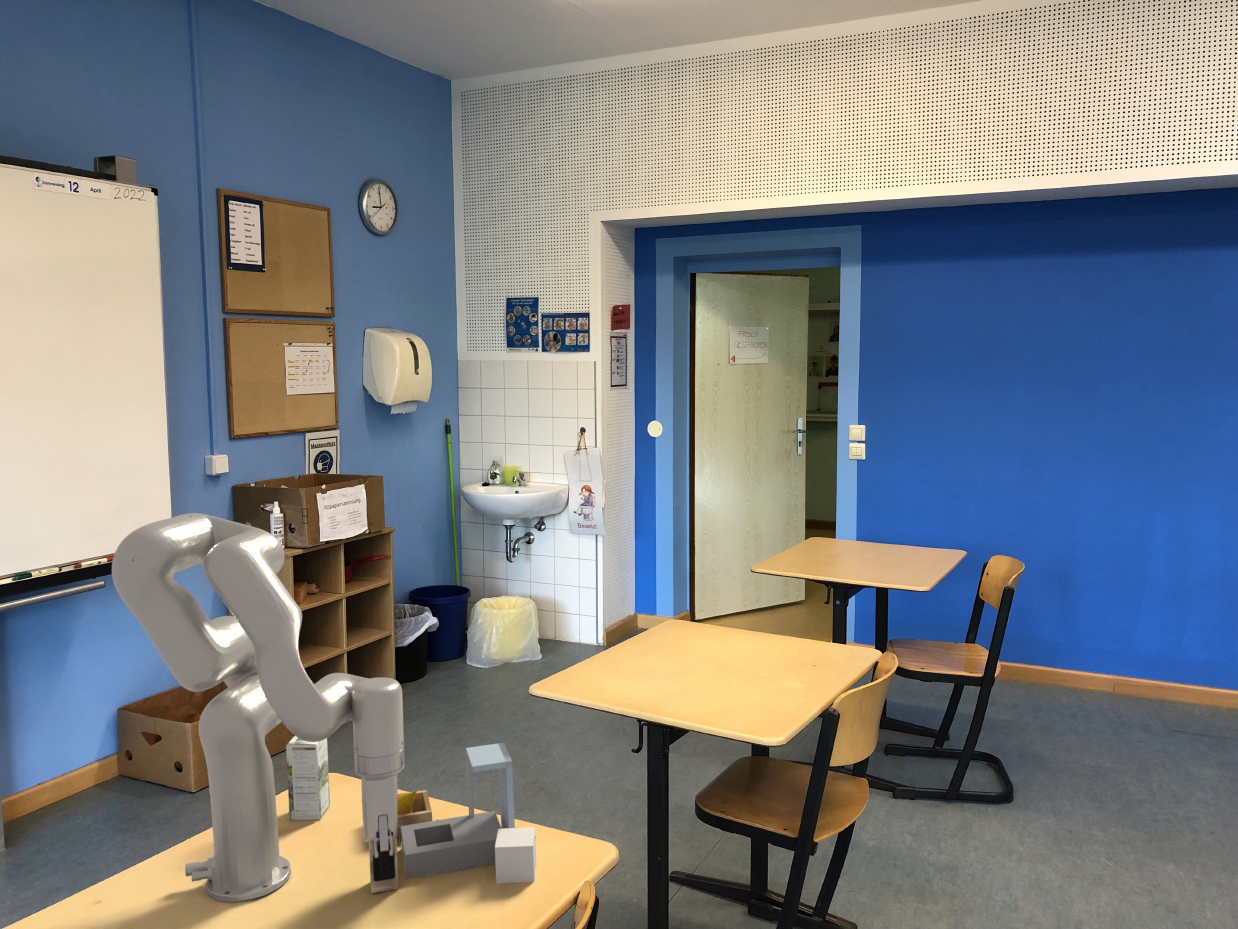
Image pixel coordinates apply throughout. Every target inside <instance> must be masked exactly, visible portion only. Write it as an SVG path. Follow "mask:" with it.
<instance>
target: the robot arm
mask: <svg viewBox="0 0 1238 929" xmlns="http://www.w3.org/2000/svg"><path fill="white" fill-rule="evenodd" d="M284 562H285V551H284V548H283V546H282V544H281V542H280V541H279V539H278V538H277V537H275V535H273V534H272V533H270V532H268V531H266V530H264V529H261V528H259V527H255V526H252V525H249V524H244V523H241V522H236V521H234V520H233V521H232V520H228V519H225V518H221V517H218V516H214V515H212V514H211V515H210V514H208V513H207V514H206V513H200V512H199V513H198V512H190V513H188V512H187V513H183V514H180V515H179V514H178V515H176V516H172V517H169V518H164V519H161V520H158V521H153V522H151V523H147V524H144V525H142V526H140V527H138V528H136V529H135V530H133V531H132V532H130V533H129V534H128V535H126V536H125V537H124V539H122V540H121V541H120V543H119V544H118V546H117V548H116V550H115V552H114V554H113V557H112V563H111V577H112V582H113V585H114V588H115V590H116V593H117V595H118V596H119V597H120V599H121V601H122V602H123V604H124V605H125V606H126V607H127V609H128V610H129V611H130V612H131V614H132V615H133V616H134V617H135V619H136V620H137V621H138V623H139V624H140V626H141V627H142V628H143V630H144V632H145V633H146V634H147V636H148V639H149V640H150V641H151V643H152V645H153V646H154V647H155V648H154V649H156V651H157V652H158V654H159V657H161V658H162V660H163V661H164V663H165V665H166V667H167V668H168V669H169V671H170V673H171V674H172V676H173V677H174V678H175V680H176V681H177V682H178V684H179V685H180V686H181V687H182V688H184V689H186V690H188V691H190V692H193V693H198V692H204V691H207V690H209V689H212V688H214V687H216V686H217V685H220V684H221V683H222V682H224V683H225V685H226V686H227V688H225V689H224V690H223V691H221V692H220V693H218V694H217V695H216V696H214V698H212V699H211V700H210V701H209V702H208V703H207V704H206V706H205V707H204V709H203V711H202V713H201V714H200V717H199V722H198V736H199V740H200V744H201V747H202V749H203V750H202V751H203V754H204V758H205V761H206V762H205V763H206V767H207V768H206V769H207V777H208V789H209V790H208V791H209V795H210V797H209V798H210V809H211V810H210V811H211V825H212V837H213V838H212V839H213V849H214V850H213V852H214V853H213V857H208V858H207V859H206V860H205V861H204V860H203V861H195V862H194V861H193V862H189V863H185V866H184V875H185V878H186V877H191V882H192V883H193V882H199V881H201V880H205V891H206V893H207V894H208V895H209V897H211V898H212V899H214V900H217V901H219V902H220V901H221V902H226V903H227V902H228V903H229V902H230V903H231V902H233V903H235V902H245V901H249V900H254V899H257V898H261V897H263V896H266V895H269V894H271V893H273V892H274V891H276V890H278V889H279V888H280V887H282V886H283V885H284V884H285V883H286V882H288V880H289V878H290V876H291V872H292V870H291V868H292V867H291V864H290V860H288V859H287V858H285V857H283V856H281V855H280V845H279V829H278V814H277V800H276V786H275V785H276V784H275V775H274V774H275V773H274V771H275V770H274V765H273V761H272V757H271V755H270V753H269V750H268V748H267V745H266V742H265V741H266V735H268V734H269V733H270V732H271V731H272V730H273V729H275V727H277V726H278V725H279V724H281V723H282V724H283V725H284V726H285V728H286V729H287V730H288V731H289V732H290V733H291V734H292V735H293V736H296V737H298V738H299V739H301V740H304V741H307V742H318V741H322V740H324V739H326V738H327V739H328V738H330V737H331V735H333V734H334V733H335V732H336V731H337V730H338V729H339V728H340V727H341V726H343V724H346V723H348V722H350V721H352V732H353V733H352V736H353V758H354V761H353V762H354V763H353V764H354V773H355V774H356V776H359V777H360V778H361V805H362V806H361V807H362V808H361V810H362V828H363V838H364V841H365V842H366V843H369V841H373V839H374V854H375V855H373V873H374V881H382V880H388V879H394V878H395V858H394V852H393V842H392V838H395V837H396V835H397V819H398V794H399V793H398V774H399V773H401V771H404V769H405V768H406V767H405V763H406V762H405V739H404V738H405V737H404V736H405V735H404V734H405V733H404V708H403V705H404V704H403V688H402V686H401V684H400V682H399V681H398V680H396V679H394V678H390V677H371V678H368V677H363V676H359V675H354V674H350V673H346V672H333V673H330V674H327V675H325V676H324V677H322V678H321V679H319V680H318V681H317V682H315V683H314V682H313V681H312V680H311V678H310V677H309V675H308V674H307V672H306V670H305V667H304V666H303V663H302V660H301V656H300V650H299V637H300V633H301V632H300V631H301V628H302V621H303V612H302V610H301V608H300V606H299V605H298V604H297V602H296V601H295V600H294V598H293V596H292V595H291V594H290V592H289V591H288V589H287V588H286V587H285V585H284V583H283V582H282V581H281V580H280V578H279V577H278V576H277V574H278V573H279V572H280V571H281V569H282V568H283V565H284ZM197 565H200V566H201V565H202V567H203V571H204V575H205V578H206V579H207V581H208V582H209V583H210V585H211V586H212V588H213V590H214V591H215V592H216V593H217V595H218V596H219V598H220V600H221V601H222V602H223V604H224V605H225V606H226V607H227V609H228V611H229V612H230V613H231V615H223V616H219V617H215V618H214V619H210V618H209V616H208V615H207V614H206V613H205V611H204V609H203V608H202V606H201V604H200V603H199V601H198V600H197V599H196V597H195V596H194V594H192V593H191V591H189V590H188V589H187V588H186V587H184V586H183V585H181V584H180V583H178V582H177V581H176V580H175V578H174V576H175V574H176V573H178V572H182V571H185V570H187V569H189V568H192V567H195V566H197ZM378 818H379V823H378ZM388 832H389V834H388ZM376 833H379V835H378V836H376ZM388 840H389V844H388ZM378 841H380V845H378Z"/></svg>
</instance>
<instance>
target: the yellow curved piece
mask: <svg viewBox="0 0 1238 929" xmlns="http://www.w3.org/2000/svg"><path fill="white" fill-rule="evenodd" d="M410 792H411V793H409V792H406V793H407V794H404V795H400V796H399V795H398V815H402V814H408V813H412V806H413V802H414V799H415V796H416V793H417V790H415V791H410Z"/></svg>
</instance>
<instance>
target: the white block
mask: <svg viewBox="0 0 1238 929" xmlns="http://www.w3.org/2000/svg"><path fill="white" fill-rule="evenodd" d="M536 840H537V839H536V827H535V826H533V827H531V826H529V827H515V828H505V829H498V833H497V839H496V844H495V863H494V864H495V882H496V884H505V883H506V884H507V883H508V884H509V883H530V882H535V879H536V868H537V850H536V849H537V845H536V844H537V843H536V842H537V841H536Z"/></svg>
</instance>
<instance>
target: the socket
mask: <svg viewBox="0 0 1238 929" xmlns="http://www.w3.org/2000/svg"><path fill="white" fill-rule="evenodd" d="M498 829H502V828H501V822H500V820H499V818H498V816H497V812H496V810H492V811H486V812H480V813H474V817H469V814H467V815H461V816H455V817H450V818H448V817H447V818H444V819H443V818H442V819H438V820H432V821H430V822H424V823H418V824H411V825H405V826H401V839H400V840H401V841H400V842H401V852H402V858H403V859H402V860H403V866H404V871H405V878H406V880H408V879H415V878H420V877H425V876H430V875H431V876H432V875H436V874H442V873H447V872H452V871H458V870H464V869H470V868H474V867H481V866H486V865H493V864H496V863H495V844H496V839H497V833H498Z"/></svg>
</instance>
